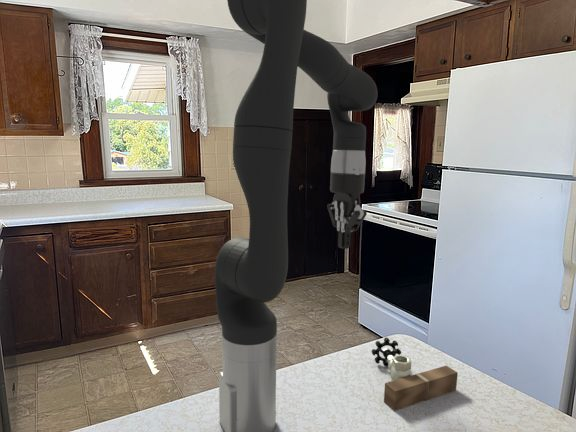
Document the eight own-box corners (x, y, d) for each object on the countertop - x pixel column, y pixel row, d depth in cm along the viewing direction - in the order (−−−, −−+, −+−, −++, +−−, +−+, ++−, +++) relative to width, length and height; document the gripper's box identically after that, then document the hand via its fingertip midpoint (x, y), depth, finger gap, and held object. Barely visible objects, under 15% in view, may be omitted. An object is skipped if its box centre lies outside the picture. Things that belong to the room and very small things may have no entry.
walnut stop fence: (393, 411, 79) (395, 391, 78) (383, 402, 81) (384, 382, 81) (456, 390, 85) (457, 372, 85) (444, 383, 88) (446, 365, 87)
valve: (419, 394, 84) (398, 364, 96) (421, 363, 83) (400, 336, 95) (387, 395, 84) (370, 364, 95) (389, 364, 82) (372, 337, 94)
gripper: (318, 169, 97) (315, 243, 99) (350, 172, 85) (346, 256, 88) (345, 169, 100) (342, 241, 103) (380, 173, 88) (375, 253, 91)
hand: (343, 247), depth 95 cm, fingers closed
